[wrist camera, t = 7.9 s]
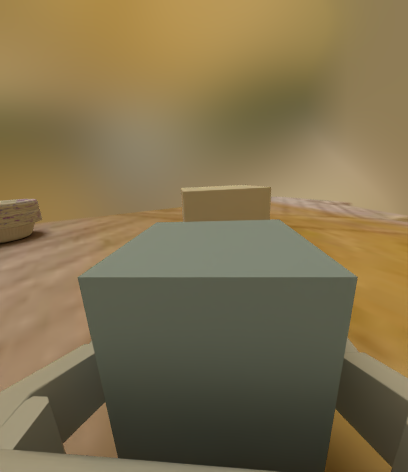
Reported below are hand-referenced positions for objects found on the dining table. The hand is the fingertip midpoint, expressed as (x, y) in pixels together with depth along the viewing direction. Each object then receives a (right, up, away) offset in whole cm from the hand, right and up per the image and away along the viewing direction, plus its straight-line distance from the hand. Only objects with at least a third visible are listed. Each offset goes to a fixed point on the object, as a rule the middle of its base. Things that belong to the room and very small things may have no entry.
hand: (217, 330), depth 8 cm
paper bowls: (-43, +3, +36) cm, 57 cm away
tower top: (+1, +3, +13) cm, 13 cm away
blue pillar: (0, -5, +1) cm, 5 cm away
